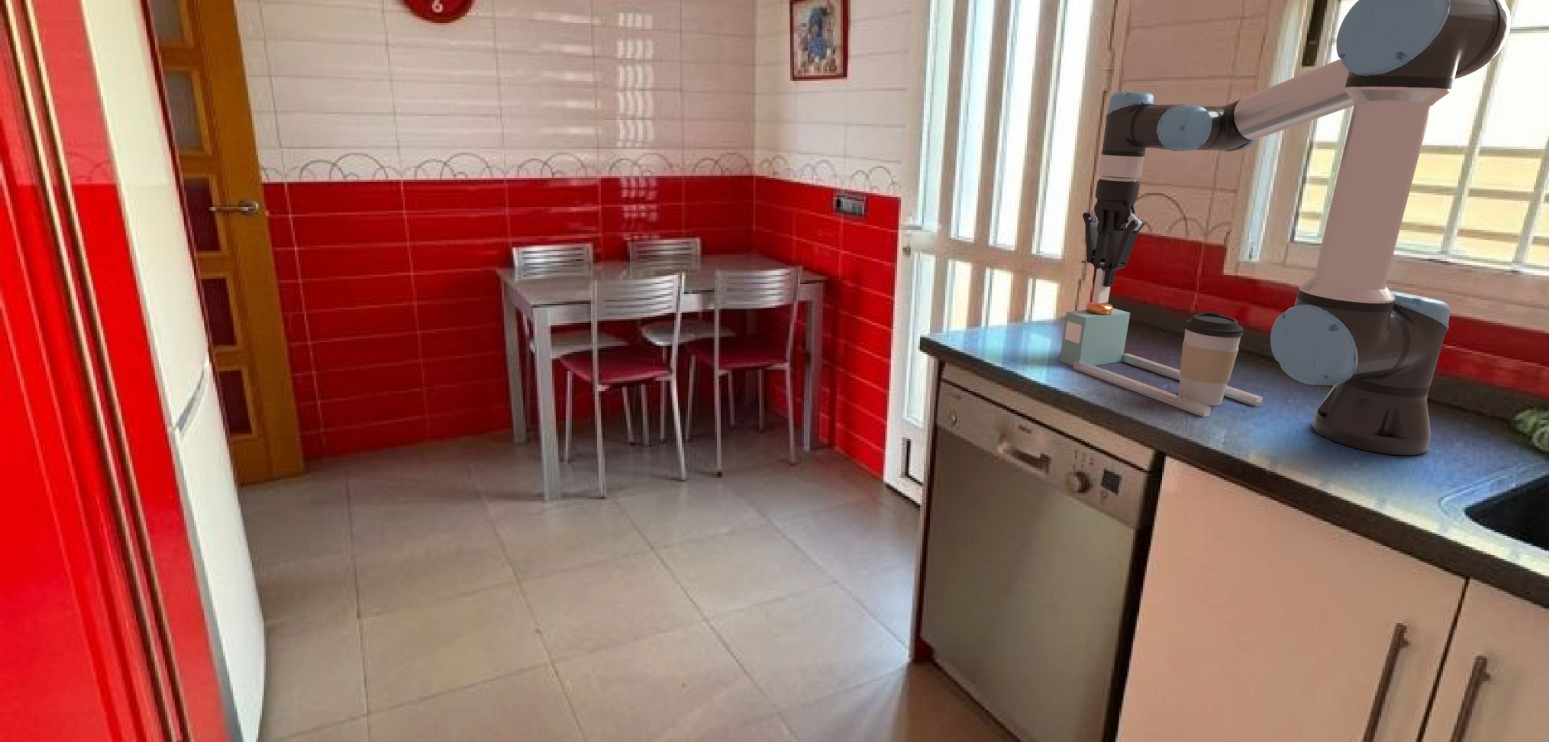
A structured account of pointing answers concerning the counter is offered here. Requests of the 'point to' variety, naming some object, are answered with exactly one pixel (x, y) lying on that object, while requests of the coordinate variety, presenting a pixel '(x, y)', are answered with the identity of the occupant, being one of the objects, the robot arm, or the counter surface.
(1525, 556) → the counter surface
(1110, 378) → the parallel base rails
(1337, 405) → the robot arm
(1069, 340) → the cabinet
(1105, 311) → the knob
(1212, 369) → the coffee cup
